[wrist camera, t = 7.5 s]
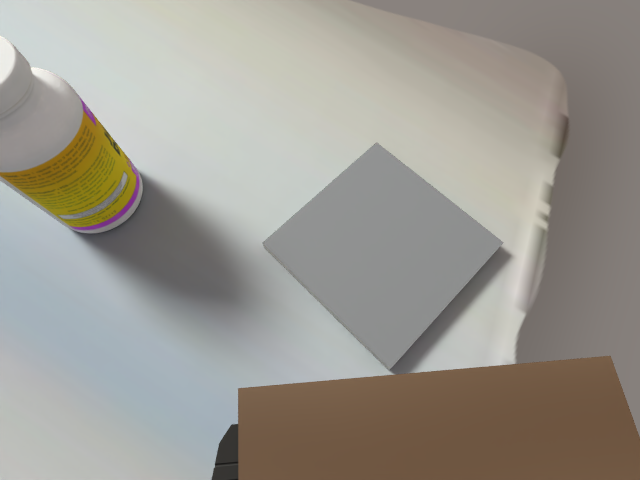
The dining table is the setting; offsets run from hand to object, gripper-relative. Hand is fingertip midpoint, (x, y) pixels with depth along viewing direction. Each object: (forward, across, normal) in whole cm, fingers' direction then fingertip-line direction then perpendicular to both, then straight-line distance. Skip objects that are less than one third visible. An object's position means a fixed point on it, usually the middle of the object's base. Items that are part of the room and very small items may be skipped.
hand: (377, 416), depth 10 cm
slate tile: (+19, -4, +4) cm, 19 cm away
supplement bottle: (+23, +17, -1) cm, 29 cm away
